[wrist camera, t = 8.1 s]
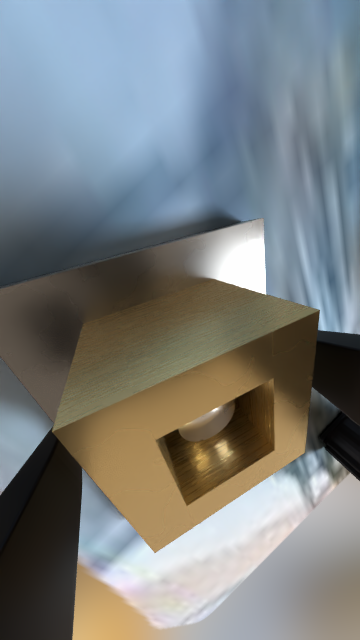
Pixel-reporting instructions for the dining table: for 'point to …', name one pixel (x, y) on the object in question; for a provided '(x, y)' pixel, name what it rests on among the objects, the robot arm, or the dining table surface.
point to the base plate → (119, 305)
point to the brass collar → (188, 401)
